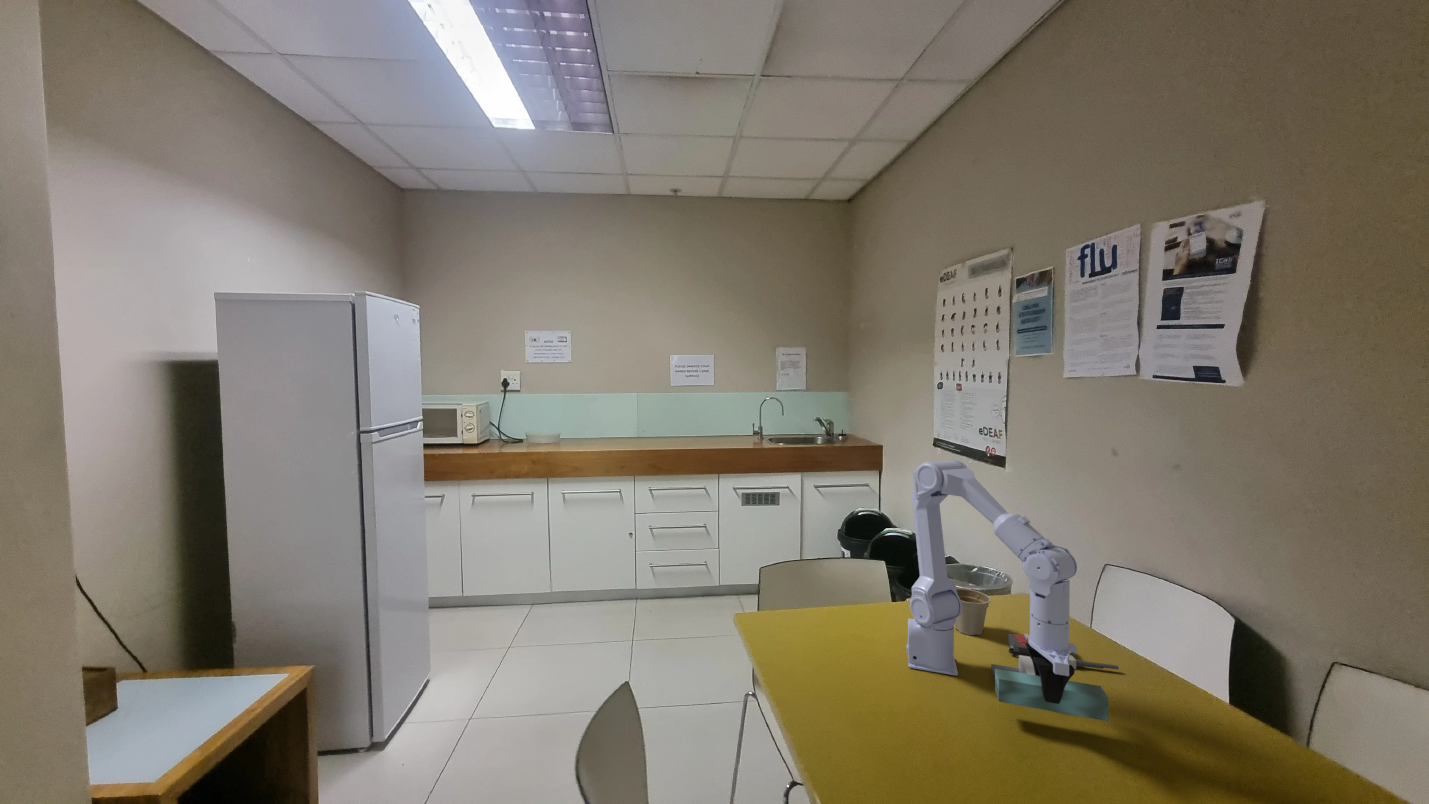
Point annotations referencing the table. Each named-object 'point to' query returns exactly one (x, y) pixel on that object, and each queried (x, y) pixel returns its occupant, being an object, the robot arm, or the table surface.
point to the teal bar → (1029, 693)
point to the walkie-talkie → (1020, 648)
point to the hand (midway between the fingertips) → (1048, 694)
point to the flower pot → (972, 611)
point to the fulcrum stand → (1024, 666)
